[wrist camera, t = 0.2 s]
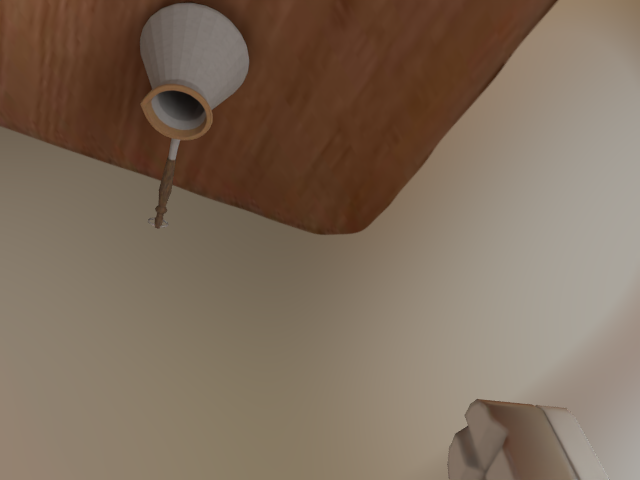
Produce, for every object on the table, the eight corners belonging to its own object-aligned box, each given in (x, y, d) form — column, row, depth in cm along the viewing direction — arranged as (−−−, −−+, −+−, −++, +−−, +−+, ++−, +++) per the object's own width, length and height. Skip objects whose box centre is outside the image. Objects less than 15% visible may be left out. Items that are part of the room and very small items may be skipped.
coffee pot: (151, -26, 55) (112, 57, 45) (263, 11, 57) (249, 97, 48) (134, 133, 70) (103, 220, 61) (223, 156, 73) (206, 243, 63)
